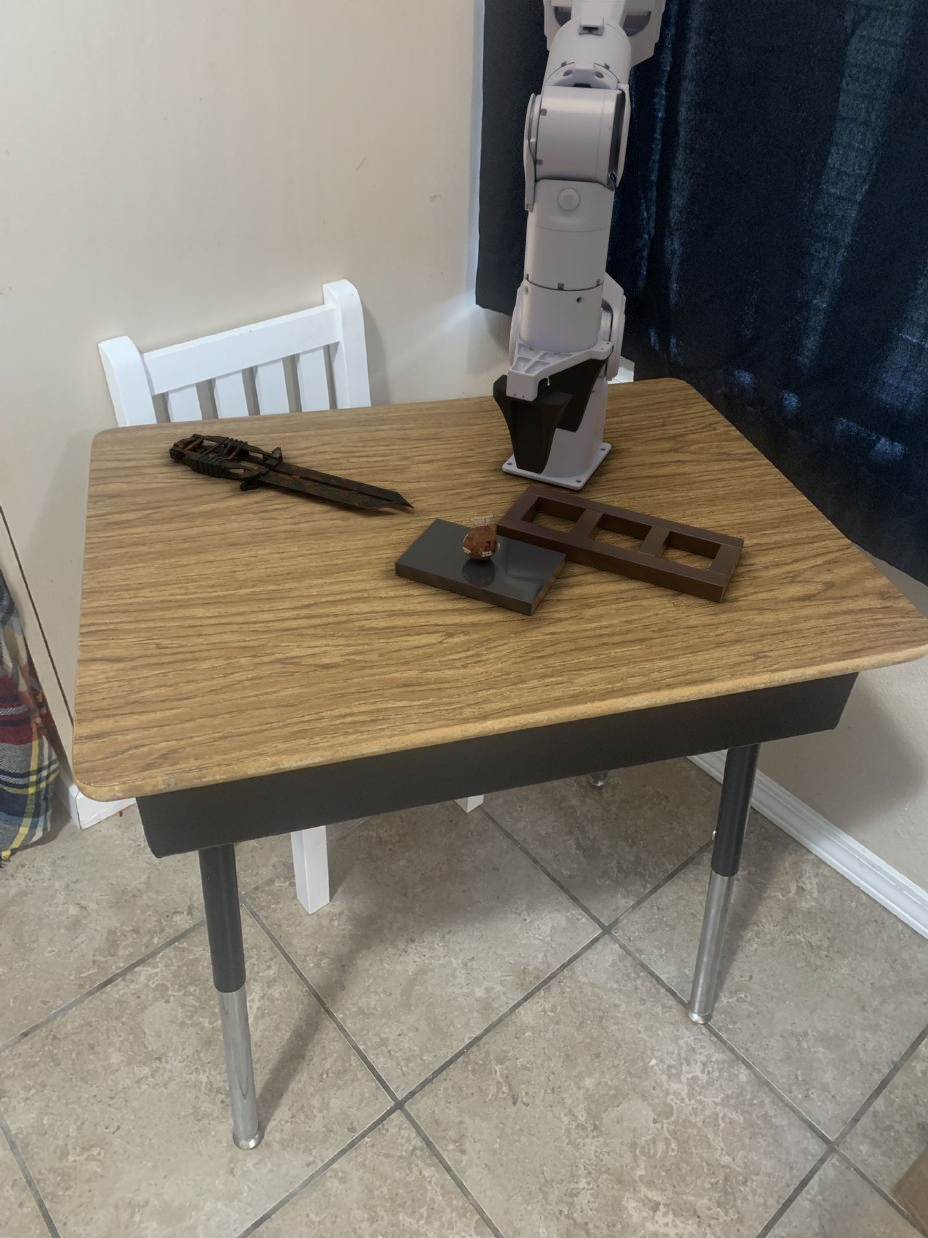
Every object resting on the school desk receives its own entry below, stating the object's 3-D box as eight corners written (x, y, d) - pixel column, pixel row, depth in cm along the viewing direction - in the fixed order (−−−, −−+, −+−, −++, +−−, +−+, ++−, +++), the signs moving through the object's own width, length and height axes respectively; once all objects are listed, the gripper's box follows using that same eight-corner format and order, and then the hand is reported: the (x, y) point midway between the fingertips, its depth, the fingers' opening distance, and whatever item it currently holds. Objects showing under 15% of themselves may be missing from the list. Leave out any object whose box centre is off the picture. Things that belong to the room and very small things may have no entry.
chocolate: (468, 570, 78) (469, 528, 76) (458, 555, 80) (460, 513, 78) (502, 564, 79) (505, 522, 77) (492, 549, 81) (495, 508, 78)
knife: (423, 507, 88) (423, 493, 87) (383, 541, 84) (383, 527, 83) (207, 435, 98) (205, 422, 97) (161, 462, 93) (159, 449, 92)
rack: (528, 498, 90) (529, 483, 89) (741, 554, 83) (744, 539, 82) (495, 539, 84) (496, 523, 83) (719, 602, 78) (723, 586, 77)
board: (436, 529, 85) (436, 517, 85) (565, 565, 81) (566, 554, 81) (394, 574, 80) (394, 562, 79) (531, 615, 76) (532, 603, 75)
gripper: (582, 321, 63) (563, 502, 71) (648, 257, 73) (624, 422, 82) (482, 301, 65) (475, 479, 74) (560, 242, 76) (546, 404, 84)
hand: (548, 448), depth 78 cm, fingers open, 7 cm apart
